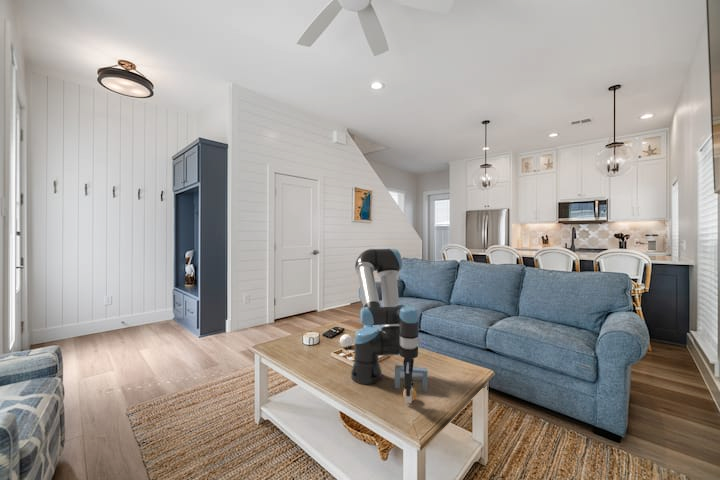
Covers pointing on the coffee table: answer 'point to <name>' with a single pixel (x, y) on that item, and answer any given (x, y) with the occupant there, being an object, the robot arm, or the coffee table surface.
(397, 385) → the bridge
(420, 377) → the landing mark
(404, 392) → the ball
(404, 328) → the robot arm
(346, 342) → the geometric ball
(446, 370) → the coffee table surface
